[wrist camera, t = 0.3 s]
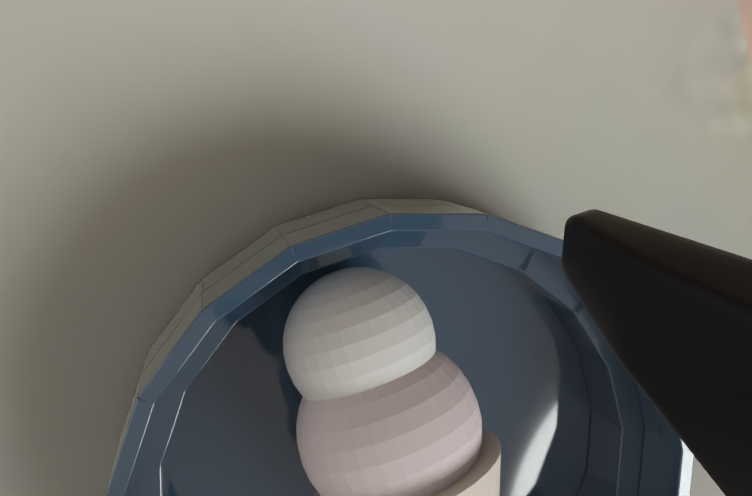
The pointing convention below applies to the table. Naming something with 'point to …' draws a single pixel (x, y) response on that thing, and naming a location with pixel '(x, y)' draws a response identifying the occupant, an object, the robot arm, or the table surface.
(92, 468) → the table surface
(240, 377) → the bowl
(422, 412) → the ice cream cone
